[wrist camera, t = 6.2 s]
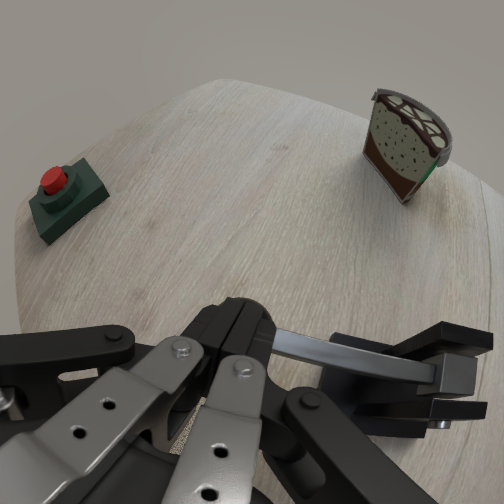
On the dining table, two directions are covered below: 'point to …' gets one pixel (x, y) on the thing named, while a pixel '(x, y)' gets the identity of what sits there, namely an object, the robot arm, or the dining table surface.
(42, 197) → the control block
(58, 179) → the button
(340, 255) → the dining table surface
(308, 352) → the lever
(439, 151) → the cake slice
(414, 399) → the black bracket
